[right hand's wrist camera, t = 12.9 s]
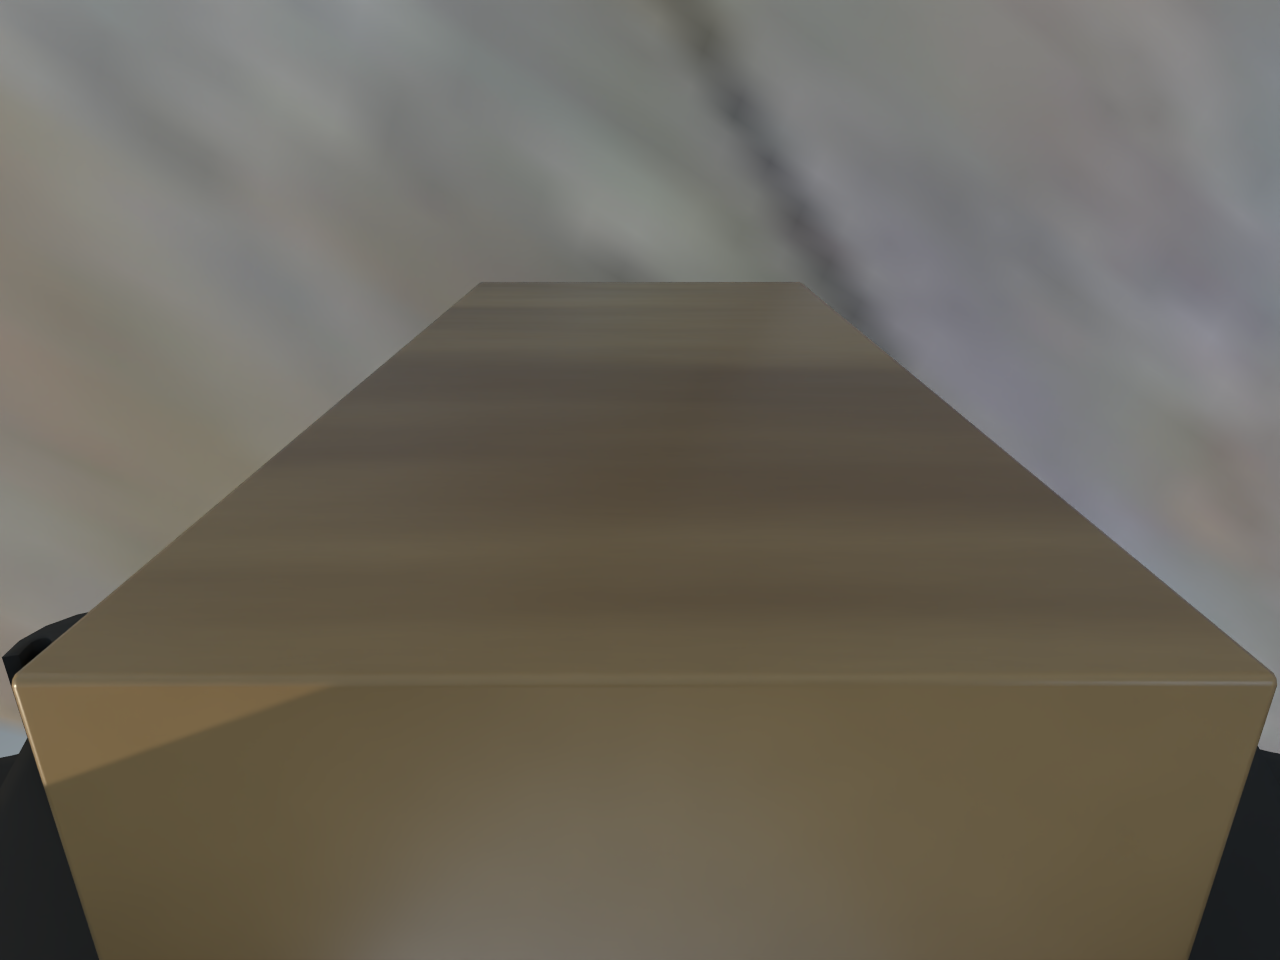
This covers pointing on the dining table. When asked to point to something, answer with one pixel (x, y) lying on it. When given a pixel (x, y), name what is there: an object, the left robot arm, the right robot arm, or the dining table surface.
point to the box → (643, 671)
